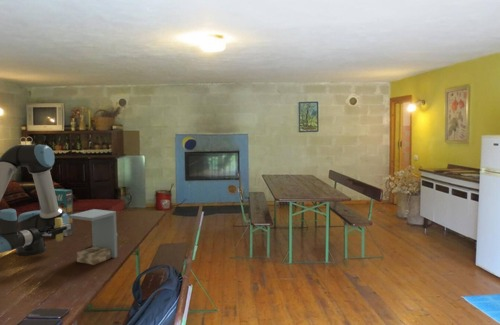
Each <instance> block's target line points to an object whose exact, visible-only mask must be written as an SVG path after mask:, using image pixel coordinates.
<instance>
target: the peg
mask: <svg viewBox="0 0 500 325" xmlns="http://www.w3.org/2000/svg"><path fill="white" fill-rule="evenodd" d="M60 226H63V223H62V218H55V228H59V227H60ZM55 241H56V242H62V241H64V236H63V233H60V234H57V235H55Z"/></svg>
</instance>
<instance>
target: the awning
mask: <svg viewBox="0 0 500 325" xmlns="http://www.w3.org/2000/svg"><path fill="white" fill-rule="evenodd" d="M69 218H73V220H81V221H82V220H83V221H90V222H91V238H92V239H91V240H92V247H94V246H95V247H101V248H107V249H110V253H111V258H113V259H116V258H117V257H118V236H117V234H118V232H117V231H118V230H117V211H116V210H115V211H114V210H106V209H104V210H103V209H95V208H92V209H89V210H85V211H81V212H76V213H73V214H72V215H69Z"/></svg>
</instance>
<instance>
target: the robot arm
mask: <svg viewBox="0 0 500 325" xmlns="http://www.w3.org/2000/svg"><path fill="white" fill-rule="evenodd" d="M55 159H56V158H55V153H54V151H53V149H52V147H50V146H49V145H47V144H45V145H44V144H17V145H13V146H11V147H10V148H8V149H7V150H6V151H5V152H4V153H3V154H2V155H1V156H0V202H1V201H2V199H3V197H4V194H5V193H6V190H7V188H8V185H9V183H10V181H11V180H12V177H13V174H15V173H17V171H18V169H19V168H22V167H23V168H24V167H25V168H27V171H28V173H29V174H31V175H32V178H33V182H34V185H35V190H36V193H37V198H38V202H39V207H40V206H41V210H42V212H41V211H40V209H39V210H31V211H26V212H23V213H20V214H19V215H18V214H17V211H16V209H14V208H3V209H0V254H2V253H7V252H10V251H14V250H16V252H15V254H16V255H17V256H33V255H38V254H41V253H44V252H46V250H47V245H46V243H45V240H44V239H45V238H46V237H47V238H52V237H55V236H56V235H57V234H60V233H64V232H65V231H66V230H69V229H71V224H68V223H69V217H68V215H67V214H65V213H64V214H63V211H62V209H61V208H60V207H58V203H57V199H56V194H55V190H54V189H55V187H54V182H53V179H52V175H51V174H52V173H51V170H52V169H53V166H54V164H55ZM17 215H18V216H17ZM55 218H62V223H63V226H60V227H59V228H55Z"/></svg>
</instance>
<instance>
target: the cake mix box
mask: <svg viewBox="0 0 500 325" xmlns="http://www.w3.org/2000/svg"><path fill="white" fill-rule="evenodd" d="M54 190H55V194H56V199H57V203H58V207H60V208H61V209H62V211H63V214H64V213H65V214H67V215H68V217H69V215H72V214H74V202H73V200H74V199H73V196H74V195H73V189H62V188H54ZM39 211H41V212H42V210H41V206H40V205H39ZM68 224H71V229H69V230H66V231H65V232H64V233H63V237H69V236H72V235H74V234H75V228H74V227H75V224H74V219H73V218H69V223H68Z"/></svg>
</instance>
